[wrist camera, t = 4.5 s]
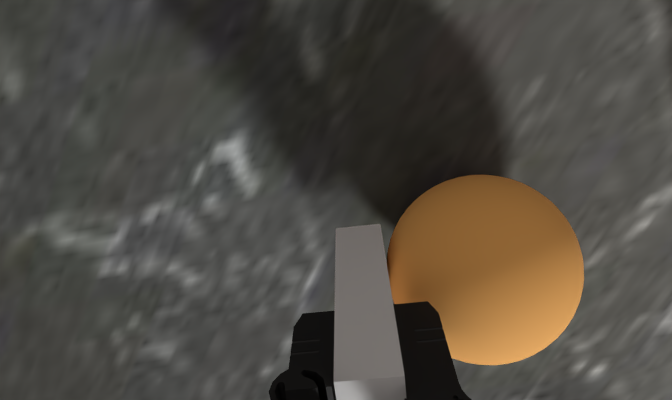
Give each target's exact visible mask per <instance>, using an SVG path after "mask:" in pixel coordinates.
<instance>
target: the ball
mask: <svg viewBox="0 0 672 400" xmlns="http://www.w3.org/2000/svg"><path fill="white" fill-rule="evenodd" d="M387 269H388V275H389V281H390V287H391V294H392V299H393V301H394V303H395V304H402V303H413V302H424V301H428V302H429V303H430V304H431V305H432V306H433V307H434V308H435V309H436V311H437V312H438V313H439V316H440V320H441V323H442V327H443V330H444V333H445V337H446V341H447V344H448V347H449V351H450V354H451V358H453V359H456V360H460V361H463V362H466V363H472V364H479V365H500V364H508V363H512V362H516V361H520V360H523V359H525V358H527V357H530V356H532V355H534V354H536V353H538V352H539V351H541V350H543V349H544V348H546V347H547V346H548V345H550V344H551V343H552V342H553V341H554V340H556V339H557V338H558V337H559V335H560V334H561V333H562V332H563V331H564V330H565V329H566V327H567V326H568V324H569V322H570V321H571V319H572V318H573V316H574V314H575V312H576V309H577V307H578V305H579V302H580V299H581V294H582V290H583V283H584V266H583V258H582V253H581V249H580V246H579V242H578V240H577V237H576V235H575V233H574V231H573V229H572V227H571V226H570V224H569V222H568V220H567V219H566V218H565V216H564V215H563V214H562V213H561V211H560V210H559V209H558V208H557V207H556V206H555V205H554V204H553V203H552V202H551V201H550V200H549V199H548V198H546V197H545V196H543V195H542V194H541V193H539V192H538V191H536V190H535V189H533V188H531V187H529V186H527V185H525V184H523V183H521V182H518V181H515V180H512V179H509V178H504V177H500V176H494V175H468V176H462V177H457V178H454V179H450V180H447V181H445V182H442V183H440V184H438V185H436V186H434V187H432V188H431V189H429V190H427V191H426V192H424V193H423V194H422V195H421V196H419V197H418V198H417V199H416V200H415V201H414V202H413V203H412V204H411V205H410V206H409V207H408V208H407V209H406V211H405V212H404V214H403V215H402V216H401V218H400V219H399V221H398V223H397V225H396V227H395V229H394V231H393V234H392V237H391V239H390V243H389V248H388V253H387Z"/></svg>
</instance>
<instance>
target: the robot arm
mask: <svg viewBox="0 0 672 400" xmlns="http://www.w3.org/2000/svg"><path fill="white" fill-rule="evenodd" d="M269 395H270V399H271V400H471V399H470V398H469V397H468V396H467V395H466V394H465V393H464V392H463V390H462V389H461V387H460V384H459V382H458V379H457V375H456V372H455V368H454V365H453V361H452V358H451V354H450V351H449V347H448V344H447V341H446V337H445V333H444V330H443V327H442V323H441V320H440V316H439V313H438V312H437V311H436V309H435V308H434V307H433V306H432V305H431V304H430V303H429V302H428V301H424V302H413V303H402V304H393V300H392V294H391V287H390V281H389V275H388V269H387V262H386V256H385V250H384V244H383V237H382V231H381V225H380V224H374V225H364V226H354V227H344V228H336V248H335V311H327V312H316V313H305V314H302V316H301V317H300V319H299V320H298V322H297V323H296V325H295V326H294V331H293V339H292V347H291V355H290V363H289V369H288V370H287V371H285V372H283V373H281V374H280V375H279V376H278V377H277V378H276V379H275V380H274V381H273V383H272V385H271V388H270V390H269Z"/></svg>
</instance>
